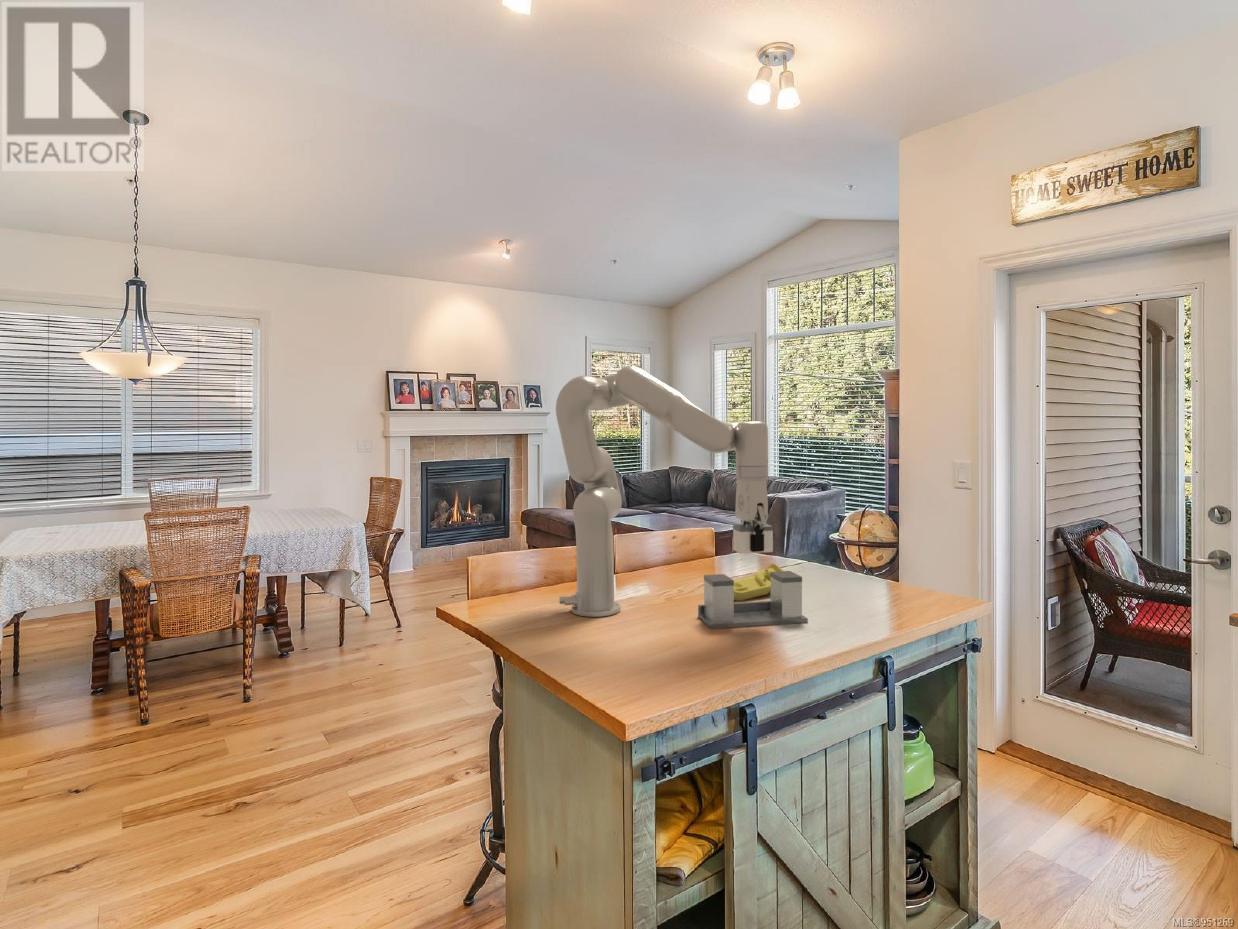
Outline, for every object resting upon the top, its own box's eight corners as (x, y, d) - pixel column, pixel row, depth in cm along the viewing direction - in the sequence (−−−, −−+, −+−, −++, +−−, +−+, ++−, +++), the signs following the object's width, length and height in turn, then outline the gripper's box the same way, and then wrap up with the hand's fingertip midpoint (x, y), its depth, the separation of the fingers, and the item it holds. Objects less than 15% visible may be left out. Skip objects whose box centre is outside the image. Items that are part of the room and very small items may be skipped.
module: (740, 553, 155) (740, 527, 155) (733, 549, 160) (732, 524, 160) (773, 551, 156) (773, 526, 156) (764, 548, 161) (764, 523, 161)
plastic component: (736, 594, 176) (715, 572, 184) (730, 615, 179) (710, 592, 187) (794, 580, 185) (772, 559, 192) (787, 601, 188) (766, 579, 196)
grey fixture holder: (710, 628, 153) (710, 582, 152) (698, 617, 163) (697, 573, 162) (807, 622, 157) (807, 577, 156) (789, 611, 167) (789, 569, 166)
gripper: (725, 471, 165) (726, 544, 166) (750, 476, 148) (750, 556, 149) (753, 471, 166) (754, 542, 167) (781, 475, 149) (782, 554, 150)
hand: (752, 548), depth 158 cm, fingers closed on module, 5 cm apart
